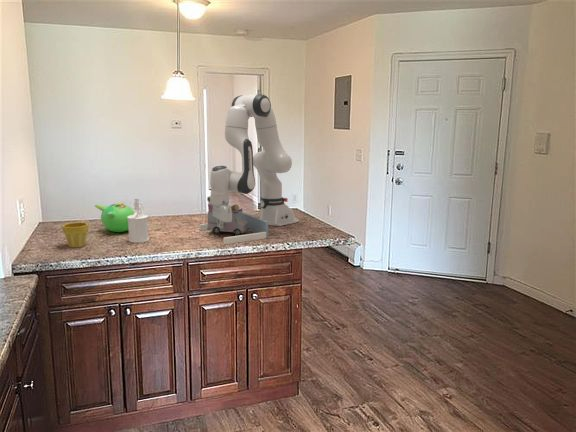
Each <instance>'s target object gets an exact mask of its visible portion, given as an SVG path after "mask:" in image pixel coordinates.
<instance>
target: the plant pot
mask: <svg viewBox="0 0 576 432" xmlns="http://www.w3.org/2000/svg"><path fill="white" fill-rule="evenodd" d="M88 232H89V224H88V223H87V222H83V221H82V222H80V221H78V222H68V223H65V224H63V225H62V233H63V234H64V235H65V238H66V242H67V244H68V247H69V248H72V249H73V248H75V249H76V248H82V247H85V246H86V241H87V234H88Z"/></svg>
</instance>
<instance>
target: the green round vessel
mask: <svg viewBox="0 0 576 432" xmlns="http://www.w3.org/2000/svg"><path fill="white" fill-rule="evenodd" d="M94 207H95V208H97V209H99V210H100V211H101V214H100V220H101V223H102V225H103V226H104V228H106V229H107V230H108V231H110V232H114V233H122V232H127V231H129V229H128V219H127V217H128V216H130V215H134V211H135V210H134V209H133V208H131V207H130V206H129V205H127V204H125V202H124V201H123V202H119V203H118V202H117V203H115V204H111V205H108V206H105V205H102V204H101V205H99V204H95V205H94Z"/></svg>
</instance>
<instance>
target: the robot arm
mask: <svg viewBox="0 0 576 432" xmlns="http://www.w3.org/2000/svg"><path fill="white" fill-rule="evenodd" d="M250 118H253V119H254V127H255V132H256V138H257V143H258V144H259V145H260V146H261V147H262V148H263V150H261V151H257V152H256V153H254V152H253V150H254V149H253V148H254V147H253V143H252V141H251V140H250V138H249V135H248V134H249V133H248V132H249V131H248V130H249V119H250ZM224 138H225V141H226V142H227V143H228V144H229V145H230V146H231V147H233V148H234V149H236V150H237V151H238V152H239V153H240V155H241V172H238V171H233V170H231V169H229V168H228V167H227V166H225V165H217V166H214V167H213V168H211V171H210V183H209V184H210V185H209V186H210V189H211V190H210V196H207V198H206V200H207V205H208V204H209V205H212V208H213V209H212V216H213V217H215V218H216V221H217V224H218V227H219V228H223V224H224V222H232V210H231V206H230V192H233V193H235V192H236V193H241V194H245V195H248V194H250V193H251V192H253V191H254V189H255V187H256V178H255V172H254V171H255V170H254V169H256V171H257V173H258V177H259V180H260V187H261V197H260V214H259V219H262V220H264V221H267V222H268V226H278V227H281V226H285V225H286V226H287V225H290V224H291V225H292V224H295V223H299V222H300V221H299V219H298V218H297V217H296V216H295V212H294V210H293V209H292V207H289V206H288V205H287V204H286V203H288V201H289V199H288V198H287V197H283V196H282V195H283V185H282V181H281V180H280V179H279V177H278V176H277V175H278V174H283V173H288V172H289V171H290V170H291V168H292V165H293V161H292V160H293V159H292V158H291V156H290V155H289V154H288V153H287V152H286V150H285V149H284V148H283V145H282V143H281V140H280V138H279V132H278V125H277V121H276V116H275V113H274V111H273V108H272V104H271V100H270V98H269V97H268V96H267V95H265V94H261V93H257V94H254V93H249V94H243V95H238V96H235V97H234V98H233V100H232V102H231V107H229V109H228V112H227V116H226V120H225V125H224ZM207 210H208V209H207ZM208 211H209V210H208ZM208 211H207V212H208Z"/></svg>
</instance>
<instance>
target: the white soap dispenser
mask: <svg viewBox="0 0 576 432" xmlns="http://www.w3.org/2000/svg"><path fill="white" fill-rule="evenodd" d="M133 204H134V205H133V206H134V208H133V211H134V215H130V216H128V217H127V219H128V229H129V230H128V242H130V243H134V244H137V243H138V244H139V243H145V242H148V241H149V240H150V237H149V226H148V225H149V224H148V223H149V220H148V219H149V218H148V217H149V216H148V215H147V214H144V211H145V209H144V205H143V204H140V201H139V198H138V197H135V198H134V202H133ZM141 208H142V211H141Z"/></svg>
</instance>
